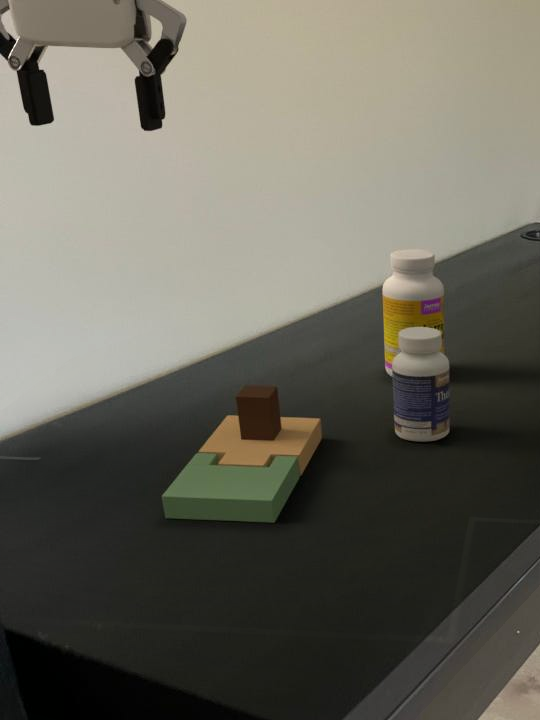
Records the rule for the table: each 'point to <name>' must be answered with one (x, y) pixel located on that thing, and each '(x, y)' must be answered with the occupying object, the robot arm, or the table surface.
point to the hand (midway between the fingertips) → (97, 126)
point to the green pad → (231, 490)
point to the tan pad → (264, 450)
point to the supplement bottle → (411, 299)
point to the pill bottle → (421, 386)
